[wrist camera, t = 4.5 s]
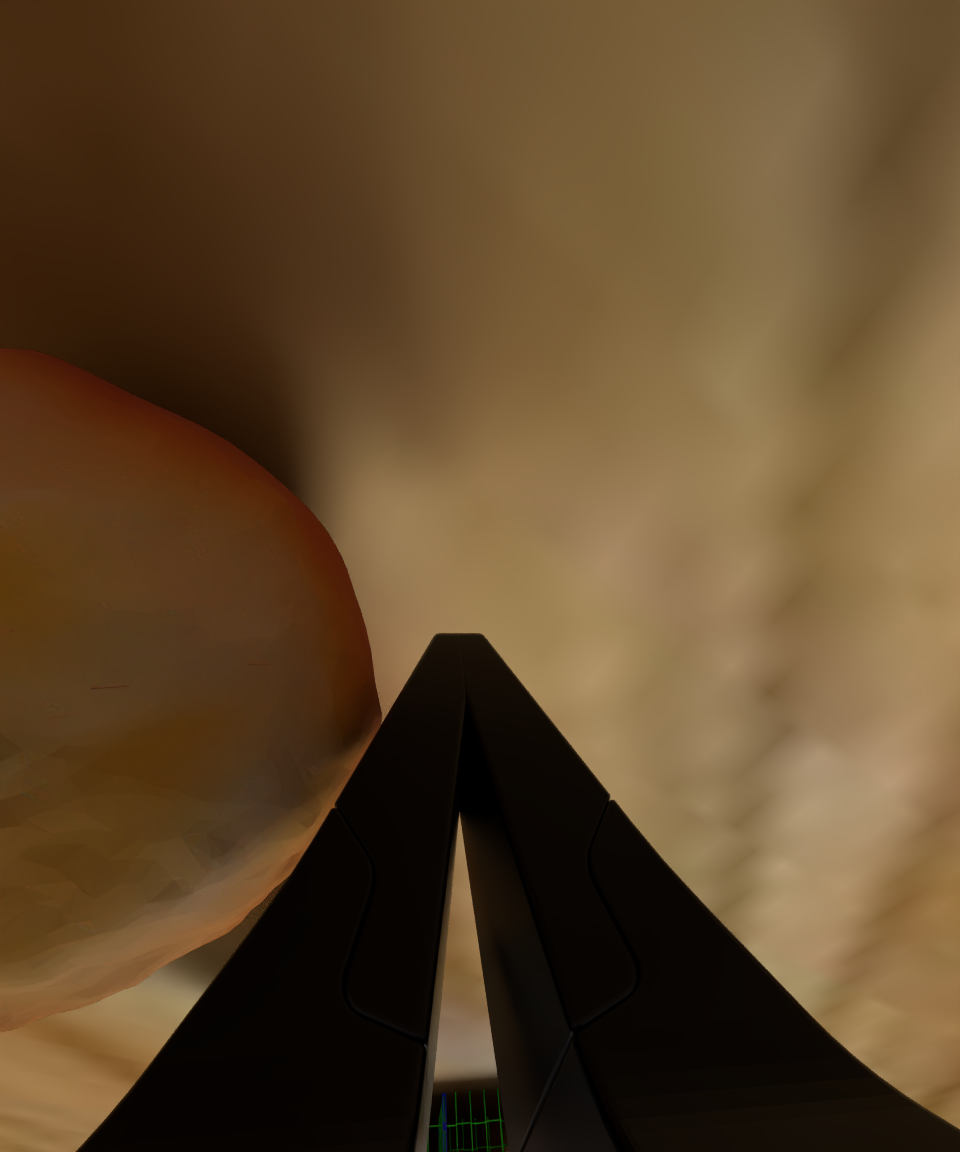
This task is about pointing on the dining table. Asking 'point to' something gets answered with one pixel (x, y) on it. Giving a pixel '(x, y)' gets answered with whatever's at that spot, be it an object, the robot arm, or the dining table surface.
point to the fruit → (154, 686)
